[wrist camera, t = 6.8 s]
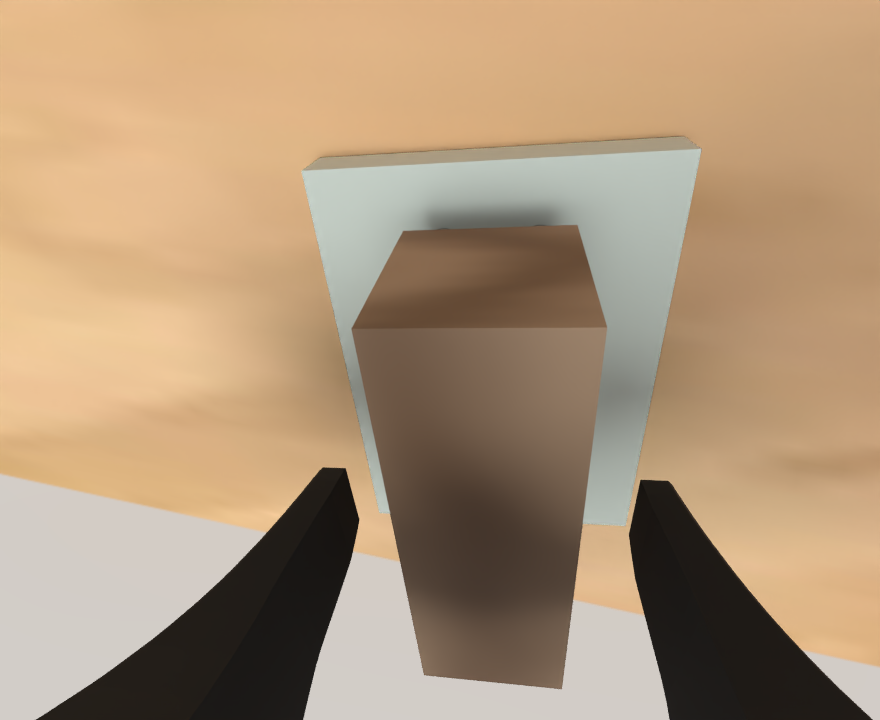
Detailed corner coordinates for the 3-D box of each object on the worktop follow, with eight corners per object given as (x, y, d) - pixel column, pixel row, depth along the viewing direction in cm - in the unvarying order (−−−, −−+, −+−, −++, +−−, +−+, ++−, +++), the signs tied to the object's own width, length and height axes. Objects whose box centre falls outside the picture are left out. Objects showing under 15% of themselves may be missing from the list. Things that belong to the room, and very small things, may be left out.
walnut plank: (577, 224, 11) (607, 328, 7) (552, 550, 18) (561, 689, 14) (403, 230, 12) (351, 328, 8) (442, 543, 18) (424, 675, 15)
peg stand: (684, 136, 13) (731, 170, 10) (619, 495, 21) (635, 572, 18) (319, 157, 14) (271, 192, 12) (387, 485, 22) (368, 554, 19)
